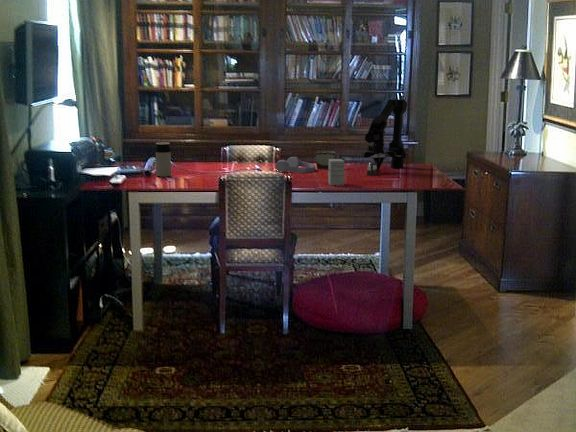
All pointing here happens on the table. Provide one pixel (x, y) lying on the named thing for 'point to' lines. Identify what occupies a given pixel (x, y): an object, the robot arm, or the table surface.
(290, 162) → the headphones
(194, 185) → the table surface
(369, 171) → the tongs base
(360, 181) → the table surface
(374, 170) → the tongs arm
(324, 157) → the food container
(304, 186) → the table surface
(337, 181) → the supplement box
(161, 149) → the travel mug
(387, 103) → the robot arm
